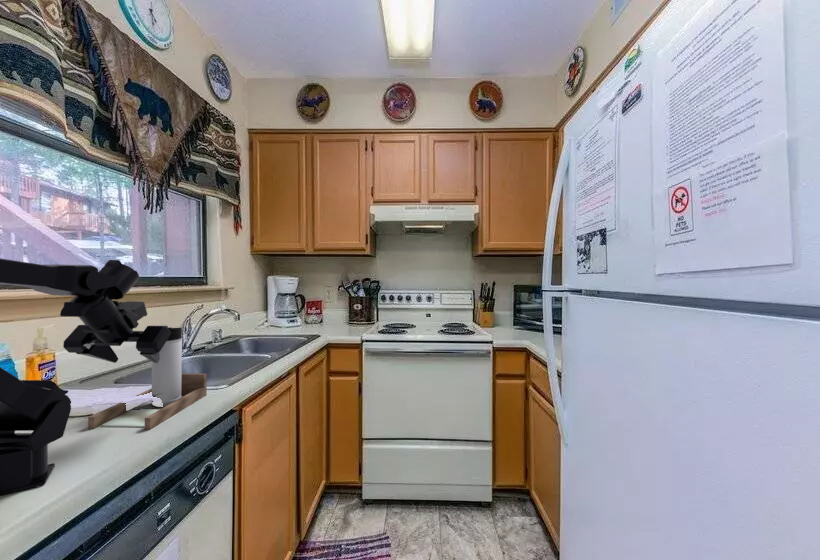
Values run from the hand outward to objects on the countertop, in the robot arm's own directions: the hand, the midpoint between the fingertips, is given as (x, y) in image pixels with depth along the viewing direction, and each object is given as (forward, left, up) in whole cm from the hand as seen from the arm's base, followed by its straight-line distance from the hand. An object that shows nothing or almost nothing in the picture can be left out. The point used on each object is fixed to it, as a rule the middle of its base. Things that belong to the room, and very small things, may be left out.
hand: (137, 361), depth 79 cm
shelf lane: (+2, -3, -13) cm, 14 cm away
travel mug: (+6, -6, -13) cm, 16 cm away
